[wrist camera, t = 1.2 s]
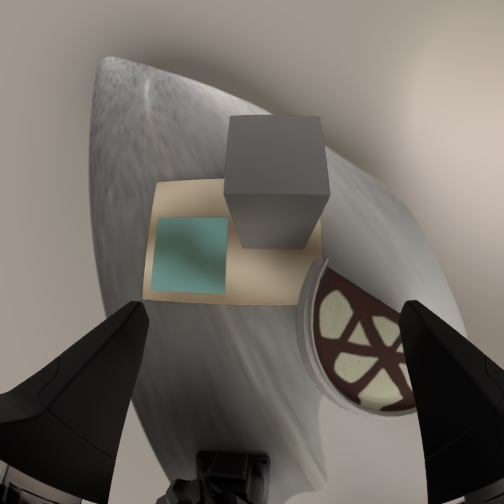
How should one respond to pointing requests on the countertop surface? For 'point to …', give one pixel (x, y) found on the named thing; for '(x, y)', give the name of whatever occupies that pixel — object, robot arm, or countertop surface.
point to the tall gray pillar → (275, 179)
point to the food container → (352, 346)
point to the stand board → (215, 252)
